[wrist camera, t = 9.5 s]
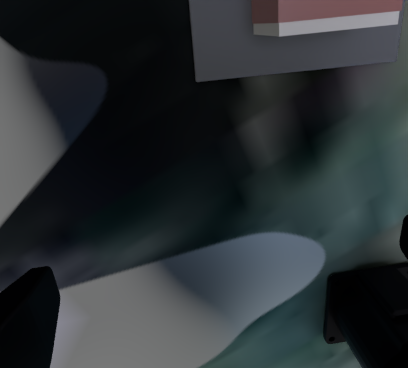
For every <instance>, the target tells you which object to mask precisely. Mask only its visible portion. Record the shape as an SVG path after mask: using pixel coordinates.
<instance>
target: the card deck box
mask: <svg viewBox="0 0 408 368" xmlns="http://www.w3.org/2000/svg"><path fill="white" fill-rule="evenodd" d="M402 3H403V0H251V4H252V24H253V29H254V35H266V36H278V37H280V36H290V35H300V34H309V33H319V32H329V31H338V30H348V29H358V28H367V27H377V26H387V25H396V24H398V19H399V11H402Z"/></svg>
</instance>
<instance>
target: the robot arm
mask: <svg viewBox="0 0 408 368" xmlns="http://www.w3.org/2000/svg"><path fill="white" fill-rule="evenodd" d="M400 248H401V250H402V252H403V254H404V255H405V257H406V258H407V260H408V215H407V216H405V218H404V220H403V224H402V230H401V235H400ZM337 280H338V281H337ZM335 281H337V282H335ZM59 306H60V293H59V290H58V286H57V283H56V280H55V277H54V274H53V271H52V269H51V268H50V267H48V266H44V267H37V268H32V269H30V270H29V271H27V272H26V273H25V274H23V275H22V276H21V277H20V278H18V279H17V280H16V281H14V282H13V283H12V284H11V285H9V286H8V287H7V288H5V289H4V290H3V291H2V292H0V368H50V364H51V359H52V353H53V347H54V340H55V333H56V327H57V320H58V313H59ZM324 339H325V341H326V342H327V343H328V344H333V343H339V342H345V341H346V342H347V344H348V345H349V347H350V349H351V350H352V352H353V354H354V355H355V357H356V358H357V360H358V362H359V363H360V365H361V367H362V368H408V263H404V264H397V265H391V266H384V267H378V268H371V269H365V270H358V271H352V272H345V273H339V274H334V275H332V276H330V278H329V280H328V290H327V301H326V313H325V325H324Z"/></svg>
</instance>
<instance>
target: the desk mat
mask: <svg viewBox="0 0 408 368" xmlns="http://www.w3.org/2000/svg"><path fill="white" fill-rule="evenodd" d="M404 5H405V0H403V3H402V11H399V19H398V24H396V25H387V26H377V27H367V28H358V29H348V30H338V31H329V32H319V33H309V34H300V35H290V36H280V37H278V36H266V35H254V29H253V24H252V4H251V0H189V11H190V23H191V34H192V45H193V57H194V68H195V80H196V82H202V81H212V80H221V79H231V78H241V77H250V76H260V75H270V74H279V73H289V72H299V71H309V70H318V69H328V68H338V67H347V66H357V65H367V64H376V63H386V62H396V61H397V55H398V48H399V41H400V34H401V27H402V20H403V12H404Z"/></svg>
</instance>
